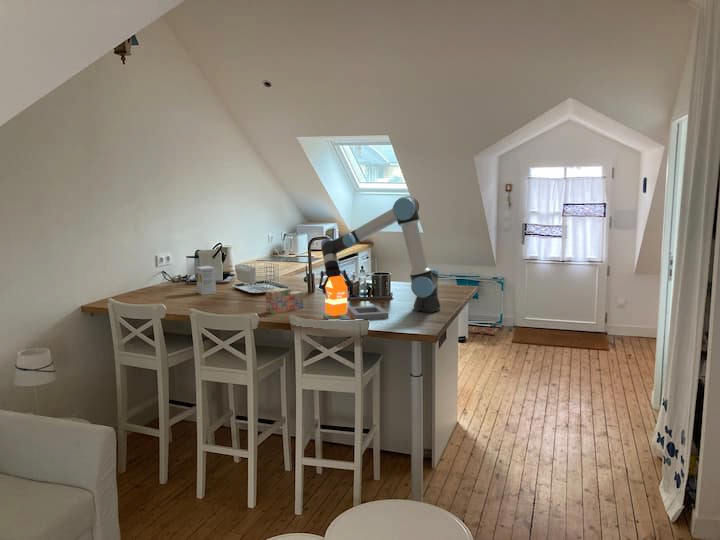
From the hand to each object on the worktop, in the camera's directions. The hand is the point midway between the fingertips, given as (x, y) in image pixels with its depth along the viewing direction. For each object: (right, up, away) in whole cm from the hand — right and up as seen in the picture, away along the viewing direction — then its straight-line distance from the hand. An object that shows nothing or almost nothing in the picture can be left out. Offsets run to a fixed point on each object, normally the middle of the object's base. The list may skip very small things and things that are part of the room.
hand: (337, 297), depth 313 cm
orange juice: (-1, -9, +4) cm, 10 cm away
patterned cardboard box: (-30, -8, +22) cm, 38 cm away
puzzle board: (+16, -10, +9) cm, 21 cm away
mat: (-1, -11, +5) cm, 12 cm away
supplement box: (-86, 0, +69) cm, 110 cm away
